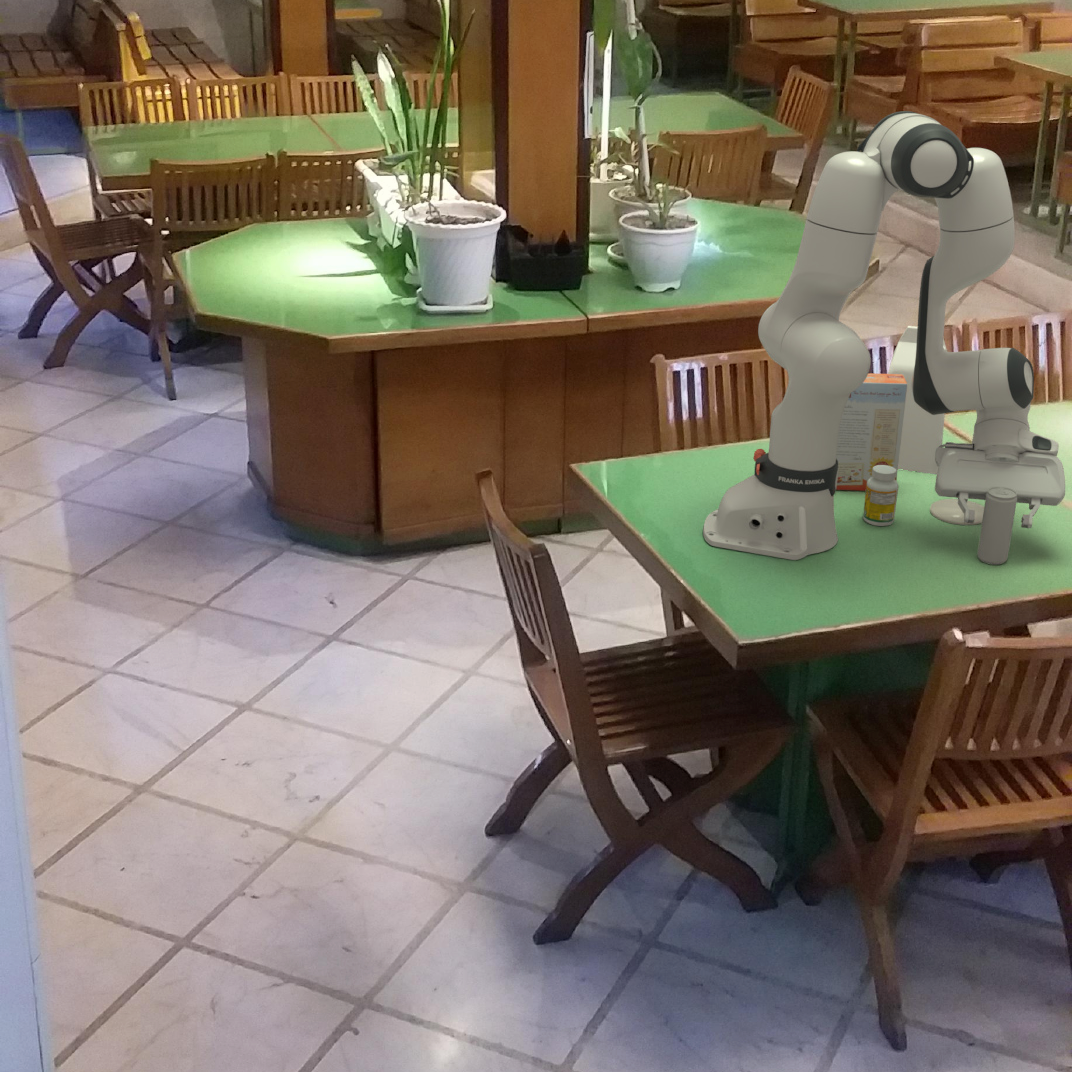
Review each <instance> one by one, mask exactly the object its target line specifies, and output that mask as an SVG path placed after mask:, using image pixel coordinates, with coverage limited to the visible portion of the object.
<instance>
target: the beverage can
mask: <svg viewBox="0 0 1072 1072" xmlns="http://www.w3.org/2000/svg"><path fill="white" fill-rule="evenodd" d="M1003 488H1004V489H1003ZM1017 504H1018V503H1017V493H1016V491H1014V490H1012V489H1010V488H1006V487H991V488H989V489H988V492H987V494H986V500H984V505H983V506H984V513H983V519H982V523H981V526H980V533H979V540H978V547H977V553H976V556H977V557H978V559H979V560H980V561H981V562H983V563H985V564H989V565H992V566H993V565H997V566H998V565H1002V564H1004V563H1005V562H1007V560H1008V558H1009V557H1008V556H1009V552H1010V545H1011V540H1012V534H1013V533H1012V532H1013V527H1014V519H1015V514H1016V508H1017Z"/></svg>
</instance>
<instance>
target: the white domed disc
mask: <svg viewBox="0 0 1072 1072" xmlns="http://www.w3.org/2000/svg"><path fill="white" fill-rule="evenodd" d="M967 505H968V507H969V509H970V510H975V515H974V516H975V519H974V522H973V523H964V513H963V512H962V510H961V508H960V507H959V505H958V498H944V499H939V500H935V501H934V502H932V503H931V505H930V507H929V512H930V513H929V514H931V516H933V517H934V518H935V519H937V520H940V521H941V522H945V523H948V524H952V525H959V526H975V525H982V519H983V513H984V506H985V505H982V504H979V503H977V502H974V501H971V500H968V501H967Z"/></svg>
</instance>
